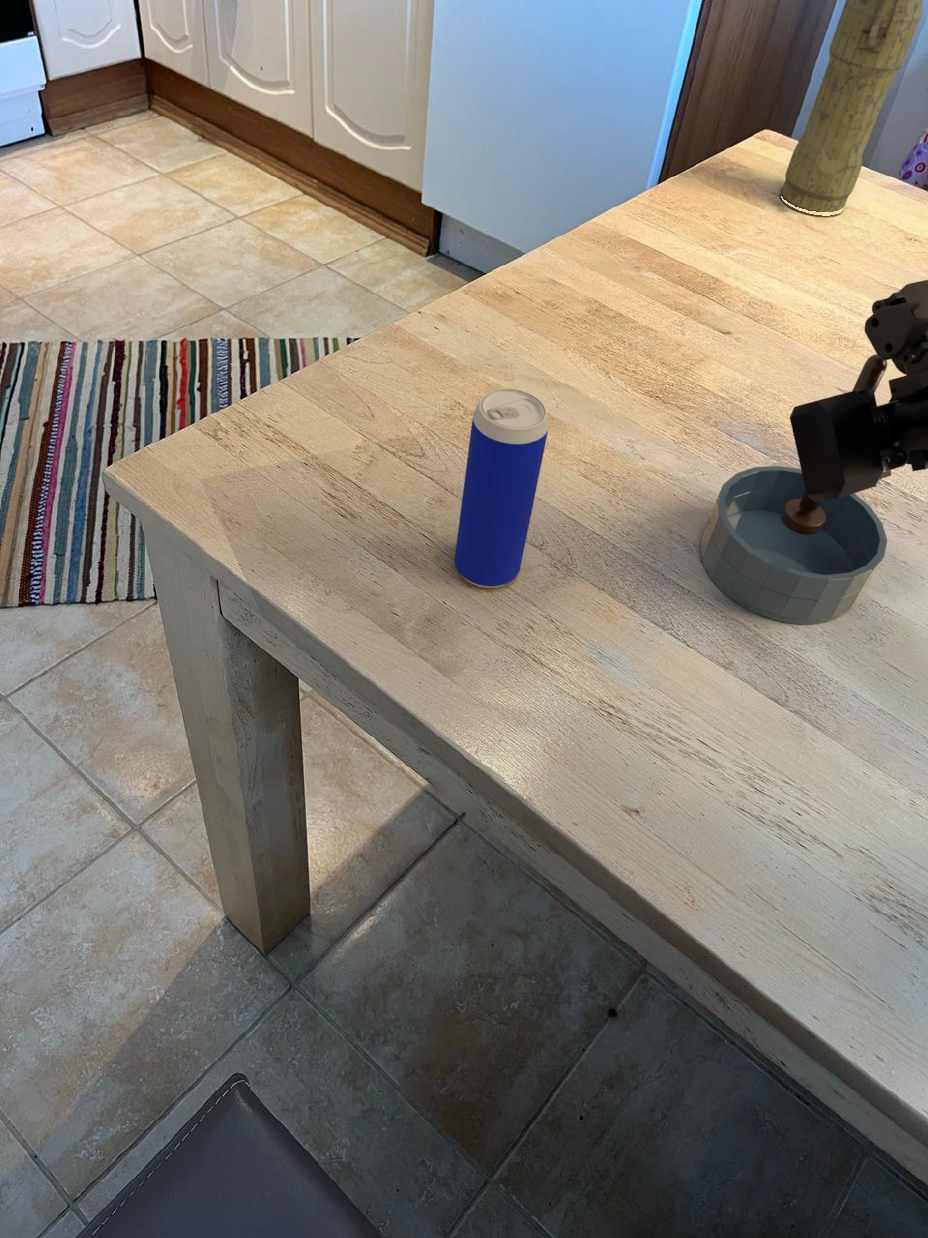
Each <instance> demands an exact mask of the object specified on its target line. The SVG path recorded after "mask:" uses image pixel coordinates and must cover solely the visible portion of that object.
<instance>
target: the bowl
mask: <svg viewBox="0 0 928 1238" xmlns="http://www.w3.org/2000/svg"><path fill="white" fill-rule="evenodd" d="M805 490H806V489H805V485H804V480H803V475H802V471H801V468H799V467H798V468H797V467H790V466H783V465H767V466H754V467H751V468H748V469H745V470H742V471H739V472H736V473H735V474H734V475H733V476H731V477H730V478H729V479H728V480H726V481H725V482H724V483H723V484H722V485H721V487H720V491H719V493H718V496H717V498H716V500H715V503H714V506H713V508H712V511H711V513H710V515H709V519H708V521H707V523H706V525H705V529H704V531H703V534H702V535H701V542H700V547H699V548H700V549H699V551H700V558H701V563H702V565H703V567H704V569H705V572H706V574H707V575H708V577H709V578H710V580H711V581H712V582H713V583H714V585H715V586H716V587H717V588H718V590H720V591H721V592H722V593H723V594H724V595H726V596H727V598H729V599H731V600H732V601H733V602H735V603H736V604H738V605H740V606H741V607H743V608H744V609H747V610H748V611H750V612H752V613H754V614H757V615H759V616H760V617H761V616H762V617H764V618H767V619H770V620H773V621H777V622H781V623H787V624H794V625H808V626H809V625H819V624H823V623H824V624H825V623H829V622H832V621H835V620H837V619H840V618H841V617H844V616H845V615H846V614H847V613H849V612H850V611H851V610H852V609H853V608H854V607H855V605H856V603H857V602H858V600H859V599H860V598H862V596H863V594H864V592H865V590H866V589H867V587H868V585H869V584H870V582H871V581H872V579H873V577H874V576H875V574H876V572H877V570H878V569H879V567H880V565H881V564H882V563H883V560H884V558H885V556H886V551H887V545H888V537H887V534H886V531H885V528H884V525H883V524H884V523H882V520H881V519H880V517H879V516H878V515H877V514H876V513H875V511H874V510H873V508H872V507H871V506H870V505H869V504H868V503H867V502H866V501H865V500H864V499H862V498H861V497H860V496H859V495H857V493H854V494H851V495H847V496H844V497H841V498H838V499H833V500H826V501H821V503H820V505H819V507H820V508H822V510H823V511H824V513H825V515H826V520H825V522H824V524H823V526H822V528H821V530H820V531H819V532H818V533H816V534H813V535H803V534H799V533H796V532H794V531H792V530H790V529H789V528H787V527H786V526H785V525H784V524H783V522H782V520H781V513H782V511H783V509H784V507H785V505H786V503H787V502H789V501H790V500H793V499H802V496H803V494H804V492H805Z"/></svg>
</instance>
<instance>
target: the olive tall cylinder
mask: <svg viewBox="0 0 928 1238" xmlns="http://www.w3.org/2000/svg"><path fill="white" fill-rule="evenodd" d="M923 4H924V0H845V1H844V5H843V8H842V11H841V13H840V16H839V20H838V22H837V25H836V28H835V31H834V33H833V34H834V35H833V37H832V39H831V42H830V45H829V49H828V50H829V60H828V63H827V66H826V69H825V72H824V75H823V77H822V80H821V83H820V86H819V89H818V92H817V95H816V98H815V101H814V103H813V107H812V110H811V112H810V115H809V117H808V121H807V124H806V127H805V130H804V131H803V135H802V136H801V137H800V139H799V140H798V142H797V144H796V146H795V148H794V149H793V151H792V154H791V157H790V160H789V163H788V166H787V169H786V171H785V175H784V176H785V177H784V178H785V180H784V182H783V186H782V188H781V190H780V192H781V196H782V197H783V199H784V200H786V201H787V202H788V203H790V204H792V205H794V206H795V207H799V208H802V209H806V210H808V211H816V212H834V211H838V210H840V209H842V208H843V207H844V206H845V207H846V203H847V201H848V198H849V196H851V194H852V193H853V191H854V188H855V186H856V183H857V181H858V178H859V176H860V174H861V171H862V166H863V165H862V164H863V154H864V151H865V149H866V147H867V144H868V142H869V139H870V136H871V134H872V132H873V129H874V126H875V125H876V122H877V119H878V116H879V114H880V112H881V109H882V106H883V104H884V101H885V99H886V97H887V93H888V91H889V88H890V86H891V83H892V81H893V78H894V76H895V74H896V73H897V72H898V71H899V70H900V68H901V67H902V66H903V64H904V61H905V59H906V57H907V54H908V53H909V49H910V47H911V44H912V42H913V39H914V37H915V34H916V32H917V29H918V27H919V24H920V22H921V19H922V13H923ZM779 200H780V201H781V202H782V204H784V205H785V206H786V207H788V208H790V209H792V210H794V211H795V212H797V213H800V214H804V215H806V216H812V217H817V218H833V217H837V216H840V215H842V213H843V212H844V210H843V211H842V212H841V213H839V214H837V215H830V216H822V215H814V214H809V213H806V212H803V211H799V210H797V209H795V208H793V207H791V206H789V205H788V204H786V203H785V202H784V201H783V200H782V198H781V197H780V196H779Z"/></svg>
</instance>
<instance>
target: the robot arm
mask: <svg viewBox="0 0 928 1238" xmlns="http://www.w3.org/2000/svg"><path fill="white" fill-rule="evenodd" d="M871 312H872V314H870V316H869V317H868V318H867V319H865V322H864V333H865V335H866V338H867V339H868V341H869V342H870V344H871V346H872V348H873V350H874V352H875V354H877V355H878V357H879V358H880V359H883V360H887V361H889V360H891V361H892V363H893V364H894V367H895V368H896V369H897V370H898V371H899V372H900V373H901V374H903V375H902V376H899V377H896V378H895V377H894V378H892V379H889V380H888V381H887V382H888V385H889V391H890V396H891V397H890V399H889V401H888V403H884V404H880V405H877V404H878V403H877V400H876V394H875V393H874V389H873V387H872V388H868V389H865V390H861V391H857V392H856V391H852V390H851V391H848V392H844V393H840V394H836V395H833V396H829V397H824V398H821V399H818V400H814V401H811V402H806V403H803V404H800V405H796V406H793V409H792V410H791V413H790V415H789V421H790V426H791V430H792V434H793V439H794V443H795V448H796V452H797V456H798V462H799V466H800V469H801V471H802V475H803V480H804V485H805V489H806V494H807V496H808V497H809V498H811V499H812V500H813V501H815V502H819V501H826V500H833V499H838V498H841V497H844V496H847V495H851V494H854V493H855V494H857V493H860V492H862V491H866V490H869V489H873V488H876V486H877V484H878V483H879V480H881V479H885V478H888V477H891V476H892V471H893V470H895V469H899V468H902V467H904V466H906V465H910V466H911V471H912V472H918V471H925V470H928V279H925V280H920V281H915V282H910V283H907V284H905V285H904V286H903V287H902V288H901V289H900V290H899V291H896V292H892V294H891V295H890V296H888V297H887V298H883V299H877V300H875V301H874V302H873V303H872V306H871Z"/></svg>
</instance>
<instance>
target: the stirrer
mask: <svg viewBox="0 0 928 1238" xmlns="http://www.w3.org/2000/svg"><path fill="white" fill-rule="evenodd" d="M887 368H888V360H883V359H880V358H879V357H878V355H877V353H875V354H873V355H871V356H869V357H868V358H866V361H865V363H864V365H863V367H862V369H861V371H860V373H859V374H858V377H857V379H856V381H855V384H854V385H853V389H851V391H856V392H857V391H861V390H865V389H868V388H872V387H873V389H874V394H875V393H876V391H877V388H878V387H879V385H880V383H881V381H882V379H883V376H884V374H885V372H886V370H887ZM820 503H821V501H819V502H815V501H813V500H812V499H811V498H809V497H808V496H807V494H806V490H805V492H804V494H803V496H802V499H793V500H790V501H789V502H787V503H786V505H785V507H784V509H783V511H782V513H781V520H782V522H783V524H784V525H785V526H786V527H787V528H789V529H790V530H792V531H794V532H796V533H799V534H803V535H813V534H816V533H818V532H819V531H820V530H821V528H822V526H823V524H824V522H825V520H826V515H825V513H824V511H823V510H822V508H820V507H819V505H820Z"/></svg>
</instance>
